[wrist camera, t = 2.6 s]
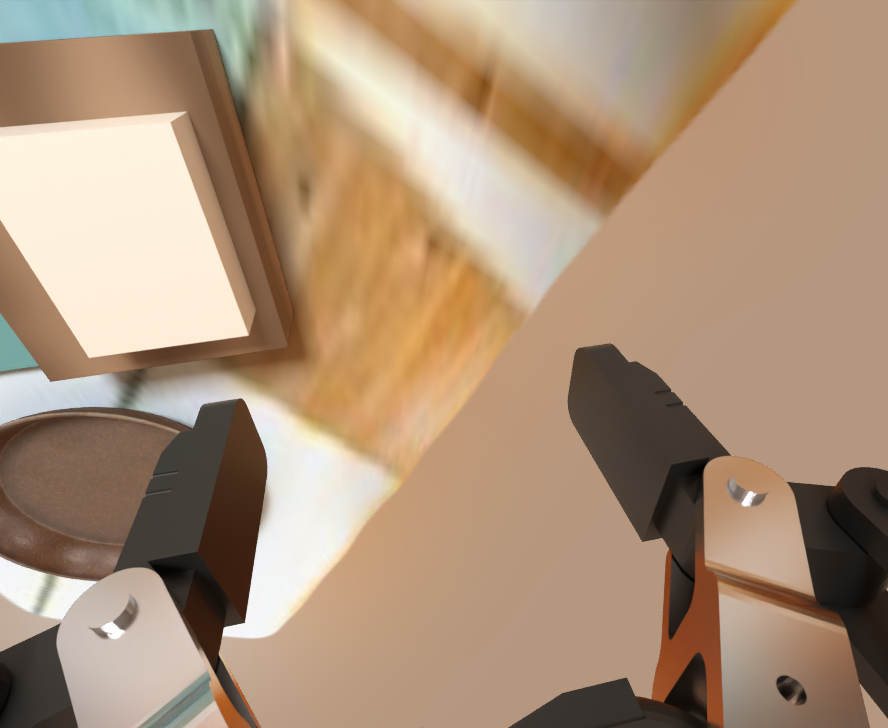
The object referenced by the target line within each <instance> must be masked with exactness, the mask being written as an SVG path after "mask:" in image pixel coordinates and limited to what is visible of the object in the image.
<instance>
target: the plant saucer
mask: <svg viewBox="0 0 888 728" xmlns="http://www.w3.org/2000/svg"><path fill="white" fill-rule="evenodd" d="M185 431H192V430H191V429H189V428H187V427H185V426H183V425H181V424H178V423H176V422H174V421H171V420H169V419H166V418H163V417H160V416H157V415H153V414H149V413H145V412H140V411H135V410H129V409H120V408H107V407H82V408H69V409H60V410H53V411H47V412H42V413H38V414H34V415H30V416H25V417H22V418H19V419H16V420H13V421H11V422H8V423H5V424H2V425H0V556H1V557H2V558H4V559H7V560H9V561H11V562H13V563H15V564H18V565H21V566H24V567H26V568H30V569H33V570H36V571H39V572H43V573H47V574H51V575H56V576H60V577H65V578H71V579H80V580H88V581H100V580H102V579H103V578H105V577H107V576H109V575H111V574H112V573H113V571H114V569H115V566H116V564H117V561H118V559H119V556H120V554H121V551H122V549H123V547H124V544H125V542H126V539H127V537H128V534H129V532H130V529H131V527H132V524H133V522H134V519H135V517H136V514H137V512H138V509H139V507H140V504H141V502H142V499H143V498H144V497H146V494H145V492H146V489H147V487H148V485H149V482H150V480H151V479H153V472H154V470H155V467H156V465H157V462H158V460H159V457H160V455H161V453H162V451H163V450H164V449H165V448H166V447H167V446H168V445H169V444H170V443H171V441H172V440H173V439H174V438H175V437H176V436H177V435H178V434H179V432H185Z"/></svg>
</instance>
